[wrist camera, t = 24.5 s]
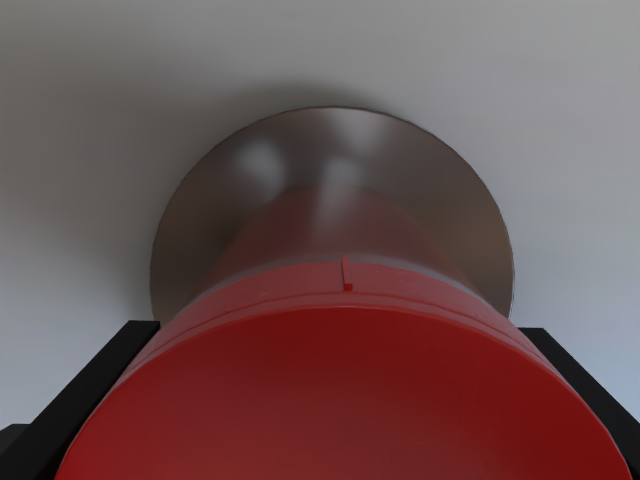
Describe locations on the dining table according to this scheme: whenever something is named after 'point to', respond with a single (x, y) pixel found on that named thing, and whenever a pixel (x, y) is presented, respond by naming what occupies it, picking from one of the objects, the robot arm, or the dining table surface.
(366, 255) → the jam jar
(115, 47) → the dining table surface
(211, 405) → the jam lid
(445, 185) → the coaster
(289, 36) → the dining table surface
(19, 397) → the dining table surface
